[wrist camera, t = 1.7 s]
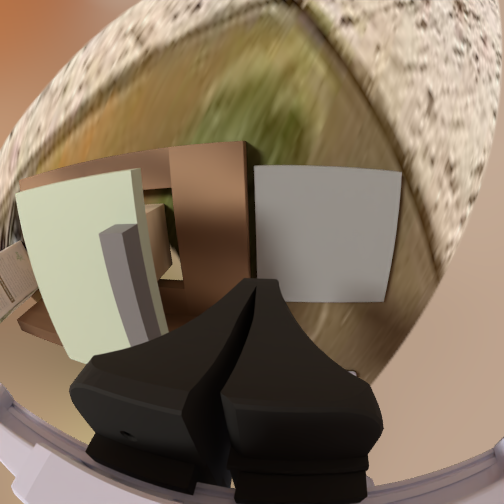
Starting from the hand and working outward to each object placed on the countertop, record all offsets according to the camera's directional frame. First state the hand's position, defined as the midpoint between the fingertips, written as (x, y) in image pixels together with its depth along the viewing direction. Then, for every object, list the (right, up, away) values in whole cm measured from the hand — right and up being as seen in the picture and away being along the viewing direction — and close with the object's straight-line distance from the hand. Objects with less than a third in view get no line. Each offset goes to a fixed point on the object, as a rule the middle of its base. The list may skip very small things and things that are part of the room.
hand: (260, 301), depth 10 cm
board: (-11, +3, +9) cm, 14 cm away
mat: (+4, +3, +7) cm, 8 cm away
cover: (-9, 0, +3) cm, 10 cm away
